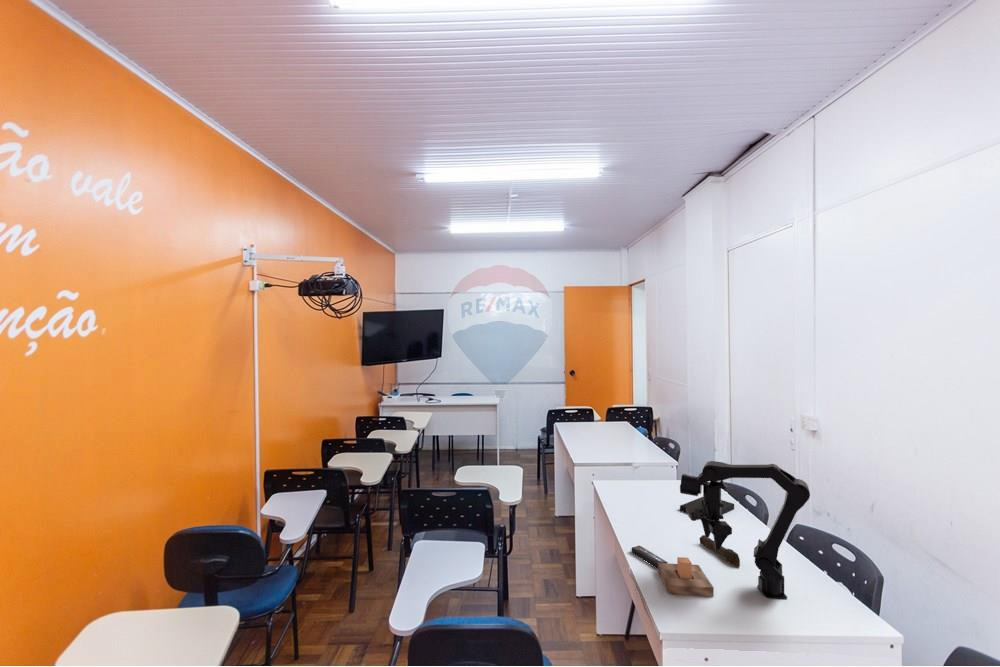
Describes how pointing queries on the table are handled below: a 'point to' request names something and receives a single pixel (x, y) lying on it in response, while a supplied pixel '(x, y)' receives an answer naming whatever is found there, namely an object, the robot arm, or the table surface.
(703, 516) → the robot arm
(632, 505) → the table surface
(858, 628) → the table surface
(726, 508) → the external hard drive
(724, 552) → the brown long rough piece
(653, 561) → the multiport hub
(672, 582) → the socket block
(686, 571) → the peg
